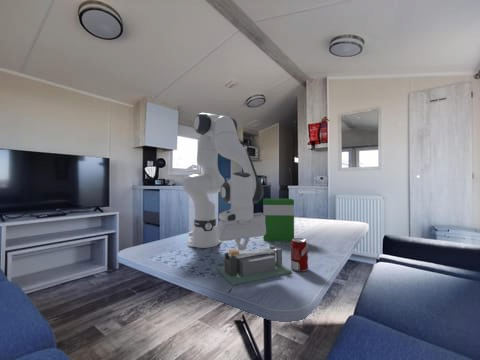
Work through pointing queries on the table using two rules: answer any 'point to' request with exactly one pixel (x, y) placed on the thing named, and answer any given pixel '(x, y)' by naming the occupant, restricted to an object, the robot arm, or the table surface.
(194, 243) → the robot arm
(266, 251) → the strap
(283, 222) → the green cereal box
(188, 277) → the table surface
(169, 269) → the table surface
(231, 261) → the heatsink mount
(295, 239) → the soda can
